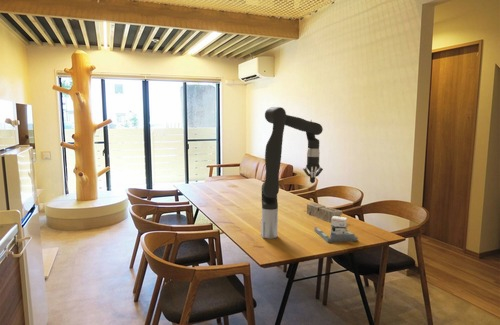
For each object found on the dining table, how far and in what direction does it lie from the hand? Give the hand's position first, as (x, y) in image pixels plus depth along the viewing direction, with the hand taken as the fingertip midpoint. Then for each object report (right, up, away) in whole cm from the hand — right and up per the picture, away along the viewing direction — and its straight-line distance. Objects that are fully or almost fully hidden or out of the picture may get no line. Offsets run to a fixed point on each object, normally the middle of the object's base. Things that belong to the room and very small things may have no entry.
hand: (312, 182), depth 210 cm
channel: (+11, -31, -11) cm, 35 cm away
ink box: (+13, -31, -13) cm, 36 cm away
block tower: (+12, -27, +27) cm, 39 cm away
